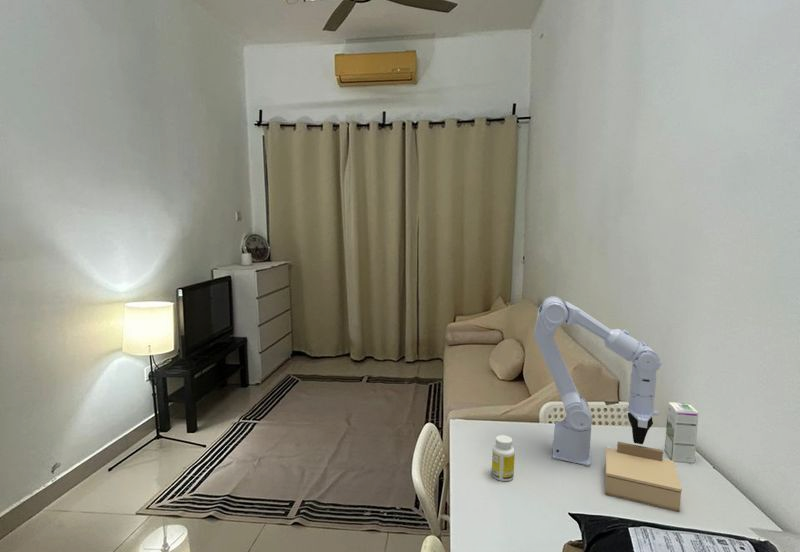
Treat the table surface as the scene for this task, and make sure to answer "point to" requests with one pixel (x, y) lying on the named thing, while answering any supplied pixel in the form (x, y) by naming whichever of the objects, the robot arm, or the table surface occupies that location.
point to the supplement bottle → (503, 459)
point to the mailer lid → (642, 466)
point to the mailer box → (642, 493)
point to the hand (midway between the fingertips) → (638, 442)
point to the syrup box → (681, 432)
